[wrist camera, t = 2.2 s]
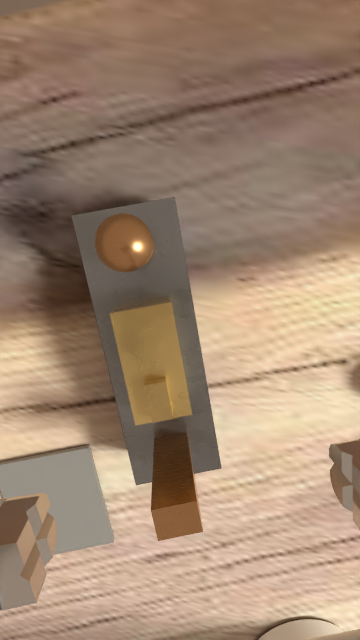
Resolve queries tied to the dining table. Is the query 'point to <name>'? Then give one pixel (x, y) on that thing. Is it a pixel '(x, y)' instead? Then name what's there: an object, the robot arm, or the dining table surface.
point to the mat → (63, 494)
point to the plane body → (172, 281)
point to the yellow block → (151, 360)
